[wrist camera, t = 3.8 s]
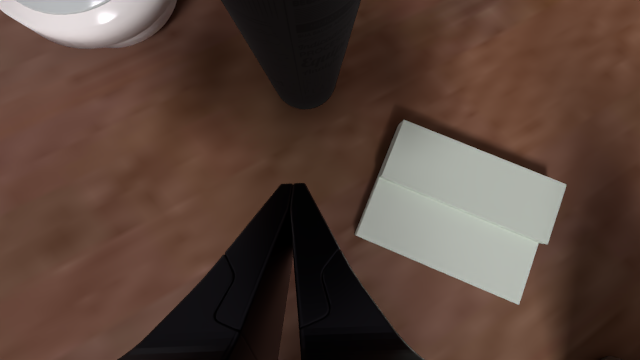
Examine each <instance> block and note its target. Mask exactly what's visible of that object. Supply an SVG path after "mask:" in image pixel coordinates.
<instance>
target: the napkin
mask: <svg viewBox="0 0 640 360" xmlns="http://www.w3.org/2000/svg"><path fill="white" fill-rule="evenodd" d="M566 185H567V184H564V183H562V182H559V181H557V180H554V179H552V178H549V177H547V176H544V175H542V174H539V173H537V172H534V171H532V170H529V169H527V168H524V167H522V166H519V165H517V164H514V163H511V162H509V161H506V160H504V159H501V158H499V157H496V156H494V155H491V154H489V153H486V152H484V151H481V150H479V149H476V148H474V147H471V146H469V145H466V144H464V143H461V142H459V141H456V140H454V139H451V138H449V137H446V136H444V135H441V134H439V133H436V132H434V131H431V130H429V129H426V128H424V127H421V126H419V125H416V124H414V123H411V122H409V121H406V120H403V121H402V122H401V123H400V124H399V125H398V127H397V129H396V132H395V134H394V137H393V139H392V142H391V144H390V147H389V149H388V152H387V154H386V157H385V159H384V162H383V164H382V167H381V169H380V172H379V174H378V177H377V179H376V182H375V184H374V187H373V189H372V192H371V194H370V197H369V199H368V202H367V204H366V207H365V209H364V212H363V214H362V217H361V219H360V222H359V224H358V227H357V229H356V232H355V235H356V236H358V237H361V238H363V239H365V240H368V241H370V242H372V243H375V244H377V245H379V246H382V247H384V248H386V249H389V250H391V251H393V252H396V253H398V254H400V255H403V256H405V257H408V258H410V259H412V260H415V261H417V262H419V263H422V264H424V265H426V266H429V267H431V268H433V269H436V270H438V271H440V272H443V273H445V274H447V275H450V276H452V277H454V278H457V279H459V280H462V281H464V282H466V283H469V284H471V285H473V286H476V287H478V288H480V289H483V290H485V291H487V292H490V293H492V294H494V295H497V296H499V297H501V298H504V299H506V300H508V301H511V302H513V303H515V304H518V305H519V303H520V300H521V297H522V294H523V290H524V287H525V284H526V281H527V278H528V275H529V272H530V269H531V266H532V263H533V259H534V256H535V253H536V250H537V247H538V244H539V243H542V244H548V242H549V239H550V236H551V232H552V229H553V226H554V223H555V220H556V217H557V214H558V210H559V207H560V204H561V201H562V198H563V195H564V192H565V189H566Z"/></svg>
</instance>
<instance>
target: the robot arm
mask: <svg viewBox="0 0 640 360" xmlns="http://www.w3.org/2000/svg"><path fill="white" fill-rule="evenodd" d="M293 258H294V271H295V283H296V296H297V308H298V321H299V330H300V332H299V333H300V347H301V360H424V359H423V358H422V357H421V356H419V355H418V354H417V353H416V352H415V351H413V350H412V349H411V348H410V347H409V346H408V345H407V344H406V343H405V341H404V340H403V339H402V338H401V337H400V336H399V335H398V333H397V332H396V331H395V329H394V328H393V327H392V326H391V324H390V323H389V321H388V320H387V319H386V317H385V316H384V315H383V313H382V312H381V310H380V309H379V308H378V306H377V305H376V304H375V302H374V301H373V299H372V298H371V297H370V295H369V294H368V293H367V291H366V290H365V289H364V287H363V286H362V284H361V283H360V281H359V280H358V278H357V277H356V275H355V274H354V272H353V270H352V269H351V267H350V265H349V264H348V262H347V260H346V258H345V257H344V255H343V253H342V251H341V250H340V248H339V246H338V244H337V242H336V240H335V238H334V236H333V235H332V233H331V231H330V229H329V227H328V225H327V223H326V221H325V220H324V218H323V216H322V214H321V212H320V210H319V208H318V207H317V205H316V203H315V201H314V199H313V197H312V195H311V194H310V192H309V190H308V188H307V186H306V184H305V183H295V184H281V185H280V186H279V187H278V188H277V190H276V191H275V192H274V193H273V195H272V196H271V197H270V198H269V199H268V201H267V202H266V203H265V204H264V206H263V207H262V208H261V209H260V211H259V212H258V213H257V214H256V215H255V217H254V218H253V219H252V220H251V222H250V223H249V224H248V225H247V226H246V228H245V229H244V230H243V231H242V233H241V234H240V235H239V236H238V237H237V239H236V240H235V241H234V242H233V244H232V245H231V246H230V247H229V248H228V250H227V251H226V252H225V255H223V256H222V257H221V258H220V259H219V261H218V262H217V263H216V264H215V265H214V266H213V268H212V269H211V270H210V271H209V272H208V273H207V275H206V276H205V277H204V278H203V279H202V280H201V281H200V282H199V283H198V284H197V286H196V287H195V288H194V289H193V290H192V291H191V292H190V293H189V294H188V295H187V296H186V297H185V298H184V299H183V300H182V301H181V302H180V303H179V304H178V305H177V306H176V307H175V308H174V309H173V310H172V311H171V312H170V313H169V314H168V315H167V316H166V317H165V318H164V319H163V320H162V321H161V322H160V323H159V324H158V325H157V326H156V327H155V328H154V329H153V330H152V331H151V332H150V333H149V334H148V335H147V336H146V337H145V338H144V339H143V340H142V341H141V342H140V343H139V344H138V345H136V346H135V347H134V348H133V349H132V350H130V351H129V352H128V353H126V354H125V355H124V356H122V357H121V358H119V359H118V360H278V354H279V347H280V341H281V334H282V327H283V320H284V314H285V307H286V300H287V294H288V287H289V280H290V273H291V267H292V260H293Z"/></svg>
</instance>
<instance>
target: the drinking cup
mask: <svg viewBox="0 0 640 360" xmlns="http://www.w3.org/2000/svg"><path fill="white" fill-rule="evenodd" d="M221 1H222V2H223V4H224V6H225V7H226V9H227V11H228V12H229V14H230V16H231V17H232V19H233V20H234V22H235V24H236V25H237V27H238V29H239V30H240V32H241V34H242V35H243V37H244V38H245V40H246V42H247V43H248V45H249V47H250V48H251V50H252V52H253V53H254V55H255V57H256V58H257V60H258V61H259V63H260V65H261V66H262V68H263V70H264V71H265V73H266V75H267V76H268V78H269V80H270V81H271V83H272V84H273V86H274V88H275V89H276V91H277V93H278V94H279V96H280V97H281V98H282V100H283V101H285V102H286V103H287V104H289V105H290V106H292V107H295V108H299V109H311V108H315V107H318V106H320V105H321V104H323V103H324V102H326V101H327V100H328V99H329V97H330V96H331V95H332V93H333V91H334V88H335V85H336V81H337V78H338V75H339V71H340V68H341V65H342V61H343V58H344V55H345V51H346V48H347V45H348V41H349V38H350V35H351V31H352V28H353V25H354V21H355V18H356V15H357V11H358V8H359V5H360V1H361V0H221Z"/></svg>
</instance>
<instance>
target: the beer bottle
mask: <svg viewBox="0 0 640 360" xmlns="http://www.w3.org/2000/svg"><path fill="white" fill-rule="evenodd" d="M601 360H622V359H619V358H616V357H614V356H606V357H605V358H603V359H601Z"/></svg>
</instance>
